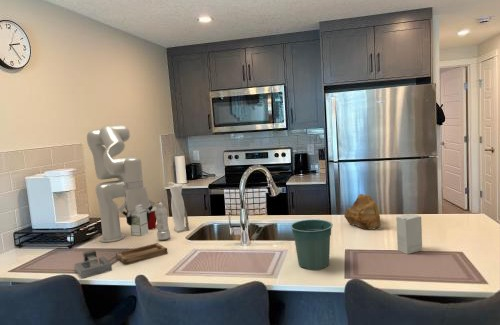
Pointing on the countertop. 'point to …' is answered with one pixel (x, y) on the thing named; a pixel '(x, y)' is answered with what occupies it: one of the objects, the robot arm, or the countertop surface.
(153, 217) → the plastic cup
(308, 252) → the flower pot
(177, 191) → the skyscraper
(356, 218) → the rough brown rock
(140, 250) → the wooden tray
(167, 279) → the countertop surface
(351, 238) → the countertop surface
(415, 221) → the skincare box
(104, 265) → the socket
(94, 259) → the grey angular block
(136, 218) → the syrup box
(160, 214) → the plastic bottle
